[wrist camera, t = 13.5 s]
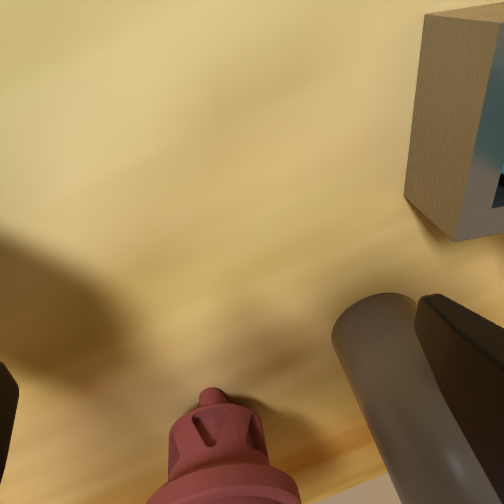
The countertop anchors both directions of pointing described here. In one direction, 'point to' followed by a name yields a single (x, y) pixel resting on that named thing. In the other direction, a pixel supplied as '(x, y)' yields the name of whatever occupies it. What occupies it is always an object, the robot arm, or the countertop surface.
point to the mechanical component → (222, 459)
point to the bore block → (460, 123)
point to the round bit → (406, 405)
